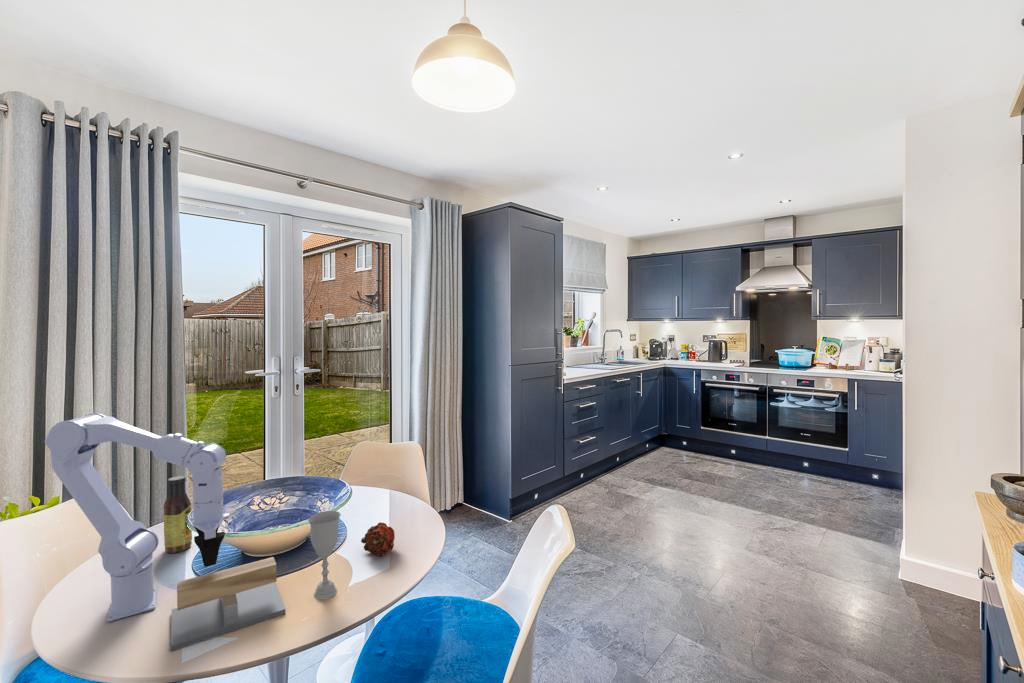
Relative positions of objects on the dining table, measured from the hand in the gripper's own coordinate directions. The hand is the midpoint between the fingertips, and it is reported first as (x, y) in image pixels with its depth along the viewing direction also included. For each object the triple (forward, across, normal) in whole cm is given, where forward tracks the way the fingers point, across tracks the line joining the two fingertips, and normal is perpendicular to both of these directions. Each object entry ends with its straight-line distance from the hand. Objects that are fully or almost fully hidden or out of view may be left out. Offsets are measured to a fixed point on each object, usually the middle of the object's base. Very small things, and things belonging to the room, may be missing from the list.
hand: (209, 558), depth 105 cm
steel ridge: (+9, -9, -3) cm, 13 cm away
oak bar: (+4, -9, -3) cm, 10 cm away
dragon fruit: (+10, -1, -39) cm, 40 cm away
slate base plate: (+9, -9, -3) cm, 13 cm away
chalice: (+10, -13, -22) cm, 27 cm away
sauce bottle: (+10, +33, +6) cm, 35 cm away
